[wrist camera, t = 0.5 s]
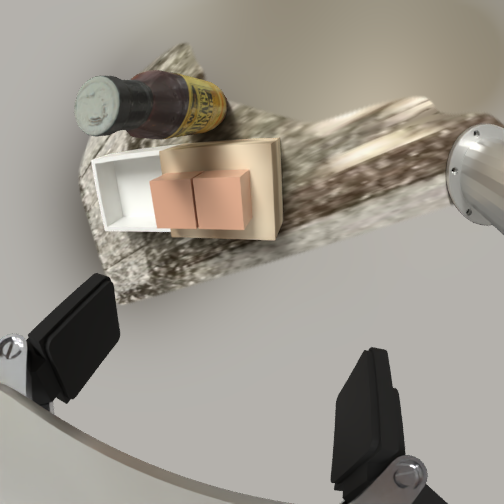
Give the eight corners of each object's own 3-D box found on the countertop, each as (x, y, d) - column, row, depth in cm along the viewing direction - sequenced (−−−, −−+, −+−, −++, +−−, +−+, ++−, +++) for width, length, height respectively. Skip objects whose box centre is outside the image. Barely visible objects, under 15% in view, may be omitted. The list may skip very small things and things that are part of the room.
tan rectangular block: (279, 138, 33) (270, 143, 28) (283, 220, 37) (275, 240, 32) (182, 143, 36) (158, 151, 31) (191, 219, 40) (171, 237, 35)
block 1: (204, 170, 31) (190, 178, 28) (209, 216, 33) (196, 228, 30) (165, 173, 32) (149, 181, 29) (172, 216, 34) (157, 228, 31)
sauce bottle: (215, 140, 35) (111, 179, 18) (173, 118, 35) (52, 141, 17) (241, 92, 32) (148, 82, 14) (196, 71, 31) (78, 54, 14)
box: (182, 143, 36) (165, 149, 32) (191, 219, 40) (177, 232, 36) (111, 153, 39) (91, 159, 35) (123, 219, 43) (105, 231, 39)
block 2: (249, 169, 30) (239, 177, 26) (252, 217, 32) (243, 230, 29) (206, 170, 31) (192, 178, 28) (211, 216, 33) (198, 228, 30)
